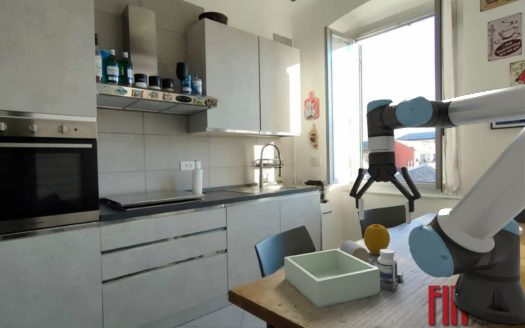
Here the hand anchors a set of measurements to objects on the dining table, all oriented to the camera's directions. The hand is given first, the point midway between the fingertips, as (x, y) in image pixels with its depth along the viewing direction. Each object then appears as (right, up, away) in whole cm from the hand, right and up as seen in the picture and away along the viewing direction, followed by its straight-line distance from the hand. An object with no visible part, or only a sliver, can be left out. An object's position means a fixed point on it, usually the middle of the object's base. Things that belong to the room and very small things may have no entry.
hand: (384, 221), depth 87 cm
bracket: (+1, -19, 0) cm, 19 cm away
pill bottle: (+1, -19, 0) cm, 19 cm away
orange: (+8, -18, +26) cm, 33 cm away
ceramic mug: (-3, -19, +16) cm, 25 cm away
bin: (-17, -19, -1) cm, 26 cm away
